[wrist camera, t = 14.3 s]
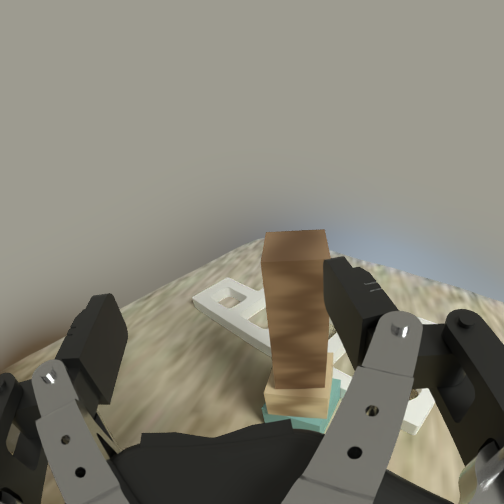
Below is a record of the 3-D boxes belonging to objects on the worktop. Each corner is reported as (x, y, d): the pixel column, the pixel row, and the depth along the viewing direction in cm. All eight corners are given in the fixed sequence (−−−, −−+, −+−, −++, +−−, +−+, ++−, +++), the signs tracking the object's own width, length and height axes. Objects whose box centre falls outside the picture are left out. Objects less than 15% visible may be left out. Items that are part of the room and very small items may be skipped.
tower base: (265, 425, 34) (261, 408, 32) (289, 386, 39) (287, 367, 37) (319, 442, 30) (319, 426, 29) (339, 398, 36) (340, 379, 34)
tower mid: (268, 414, 31) (263, 393, 30) (280, 372, 37) (277, 350, 35) (326, 418, 29) (327, 398, 28) (332, 375, 35) (333, 352, 33)
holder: (194, 308, 60) (191, 297, 58) (261, 269, 70) (259, 258, 68) (413, 438, 28) (419, 427, 27) (462, 347, 38) (467, 334, 37)
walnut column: (275, 389, 30) (260, 262, 23) (278, 354, 34) (265, 232, 27) (324, 387, 29) (330, 258, 22) (322, 352, 33) (324, 229, 26)
